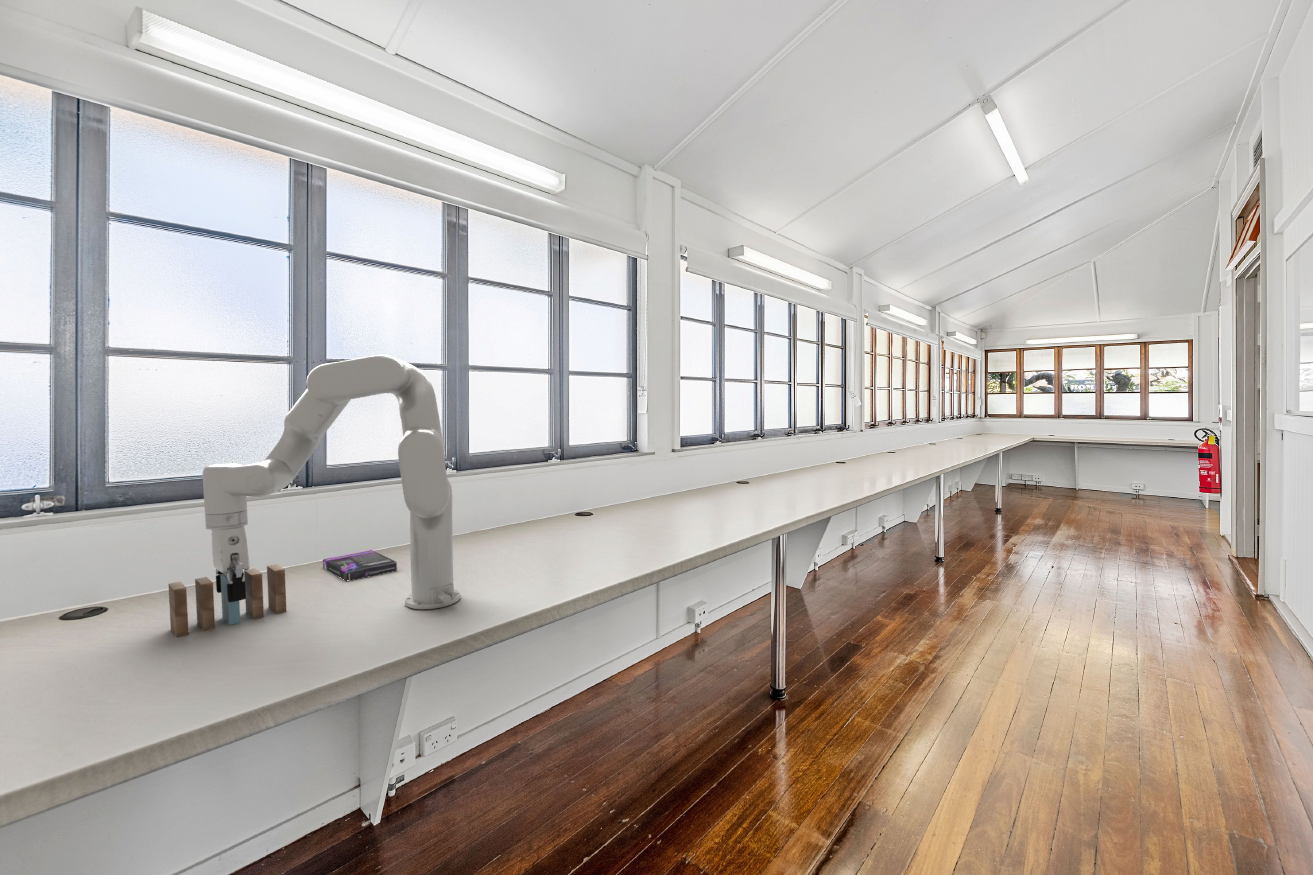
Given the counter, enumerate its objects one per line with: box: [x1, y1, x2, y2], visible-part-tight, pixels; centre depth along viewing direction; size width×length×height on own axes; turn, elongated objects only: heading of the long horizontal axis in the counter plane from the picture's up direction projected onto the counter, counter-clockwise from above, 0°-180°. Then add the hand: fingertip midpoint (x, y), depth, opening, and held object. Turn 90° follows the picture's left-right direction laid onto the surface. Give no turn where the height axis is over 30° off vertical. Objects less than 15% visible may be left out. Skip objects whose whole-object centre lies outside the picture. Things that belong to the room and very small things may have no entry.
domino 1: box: [168, 581, 189, 638], centre depth 123 cm, size 2×6×10 cm, turn 48°
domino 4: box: [243, 567, 265, 620], centre depth 133 cm, size 2×6×10 cm, turn 48°
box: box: [322, 549, 398, 582], centre depth 170 cm, size 14×4×20 cm
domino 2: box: [194, 576, 216, 632], centre depth 126 cm, size 2×6×10 cm, turn 48°
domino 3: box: [220, 574, 241, 626], centre depth 130 cm, size 2×6×10 cm, turn 48°
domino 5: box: [266, 563, 287, 615], centre depth 137 cm, size 2×6×10 cm, turn 48°
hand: (231, 595), depth 130 cm, fingers open, 9 cm apart
